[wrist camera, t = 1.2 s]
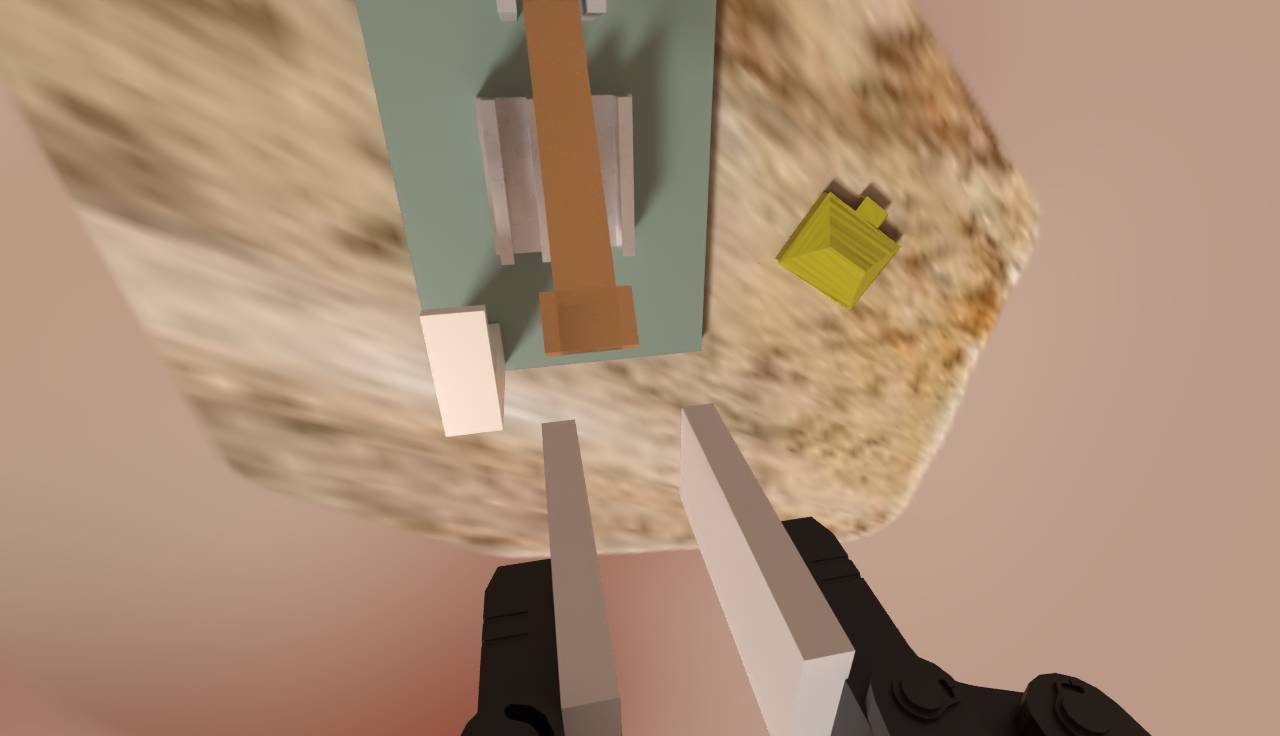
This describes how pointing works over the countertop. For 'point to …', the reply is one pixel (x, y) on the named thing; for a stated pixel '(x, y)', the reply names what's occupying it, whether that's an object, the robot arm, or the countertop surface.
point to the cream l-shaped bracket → (466, 368)
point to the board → (499, 66)
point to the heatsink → (520, 180)
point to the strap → (573, 191)
